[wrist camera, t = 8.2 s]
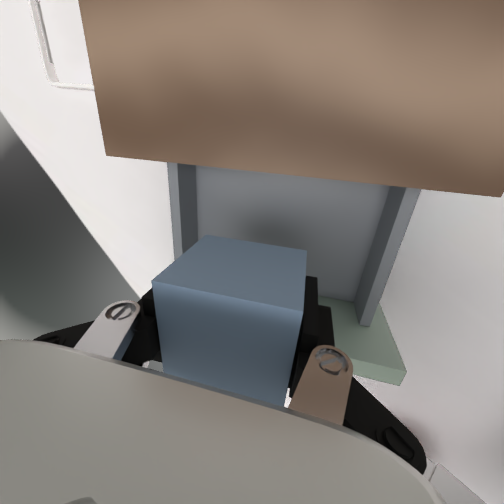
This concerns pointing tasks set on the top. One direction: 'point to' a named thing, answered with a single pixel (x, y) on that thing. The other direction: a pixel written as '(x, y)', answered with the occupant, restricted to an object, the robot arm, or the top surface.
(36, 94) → the top surface
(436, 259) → the top surface
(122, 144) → the cabinet
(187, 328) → the blue block
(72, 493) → the robot arm
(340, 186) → the tray
